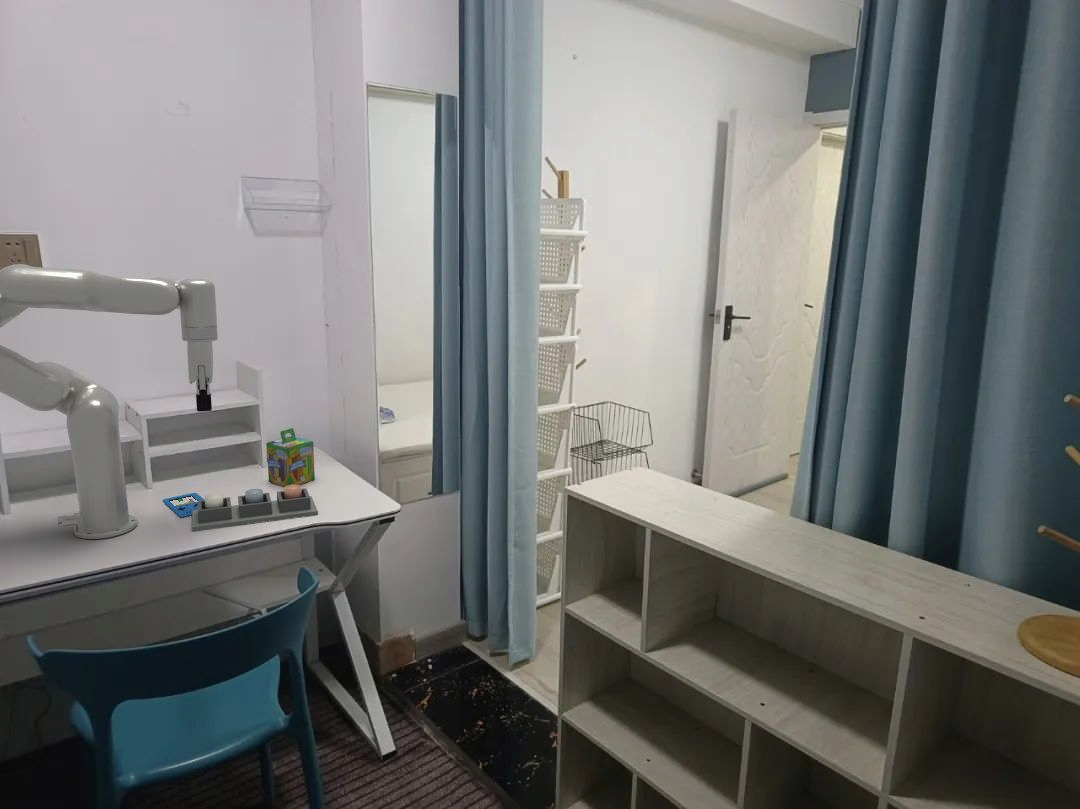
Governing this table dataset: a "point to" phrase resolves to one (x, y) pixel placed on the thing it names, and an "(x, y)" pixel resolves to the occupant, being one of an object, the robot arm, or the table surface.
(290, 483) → the chalk box
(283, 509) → the grey socket tray
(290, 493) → the terracotta key
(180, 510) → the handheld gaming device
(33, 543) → the table surface
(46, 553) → the table surface
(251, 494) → the slate key
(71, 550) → the table surface
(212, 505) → the ivory key
